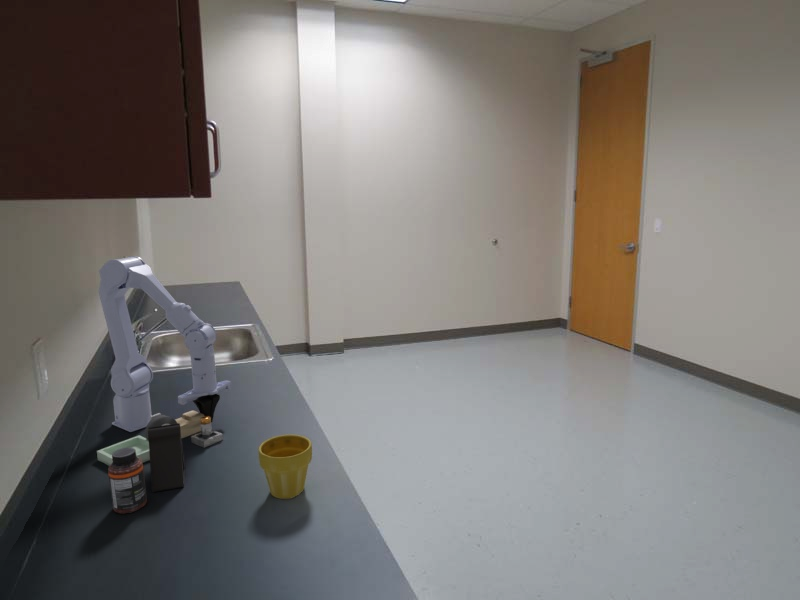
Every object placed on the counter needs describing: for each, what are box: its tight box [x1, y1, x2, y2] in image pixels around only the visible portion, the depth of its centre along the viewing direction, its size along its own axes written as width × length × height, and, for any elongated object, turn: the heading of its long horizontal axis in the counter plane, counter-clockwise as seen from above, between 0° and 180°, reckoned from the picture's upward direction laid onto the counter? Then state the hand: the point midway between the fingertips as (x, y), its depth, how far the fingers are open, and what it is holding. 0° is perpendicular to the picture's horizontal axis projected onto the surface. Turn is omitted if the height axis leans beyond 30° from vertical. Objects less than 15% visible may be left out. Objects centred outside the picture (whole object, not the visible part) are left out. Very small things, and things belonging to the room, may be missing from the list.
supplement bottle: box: [107, 448, 148, 514], centre depth 103 cm, size 6×6×11 cm
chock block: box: [175, 410, 204, 440], centre depth 137 cm, size 5×7×4 cm
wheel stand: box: [144, 412, 177, 440], centre depth 130 cm, size 5×7×7 cm
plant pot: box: [258, 434, 313, 500], centre depth 108 cm, size 10×10×10 cm
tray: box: [96, 434, 150, 467], centre depth 124 cm, size 10×10×2 cm
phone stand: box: [148, 423, 186, 494], centre depth 112 cm, size 9×6×12 cm, turn 19°
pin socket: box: [190, 429, 224, 448], centre depth 131 cm, size 5×5×2 cm
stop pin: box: [200, 416, 213, 440], centre depth 131 cm, size 2×2×6 cm
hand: (208, 422), depth 140 cm, fingers closed
